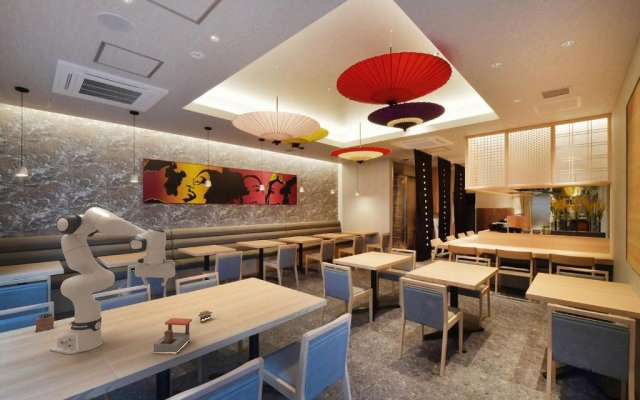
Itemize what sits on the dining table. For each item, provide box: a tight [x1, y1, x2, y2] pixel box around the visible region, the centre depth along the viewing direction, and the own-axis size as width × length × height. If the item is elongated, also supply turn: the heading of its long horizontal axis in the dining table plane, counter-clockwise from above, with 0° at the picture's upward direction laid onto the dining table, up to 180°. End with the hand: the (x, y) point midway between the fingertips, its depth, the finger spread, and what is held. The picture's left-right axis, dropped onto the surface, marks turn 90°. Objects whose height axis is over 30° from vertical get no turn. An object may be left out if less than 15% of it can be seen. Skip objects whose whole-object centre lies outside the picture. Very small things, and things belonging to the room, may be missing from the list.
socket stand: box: [152, 317, 193, 352], centre depth 156 cm, size 12×16×12 cm
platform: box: [197, 310, 213, 321], centre depth 193 cm, size 12×18×7 cm, turn 147°
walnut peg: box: [163, 329, 174, 344], centre depth 151 cm, size 4×4×10 cm
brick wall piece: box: [35, 312, 55, 333], centre depth 173 cm, size 8×3×10 cm, turn 135°
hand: (154, 285), depth 151 cm, fingers open, 8 cm apart
